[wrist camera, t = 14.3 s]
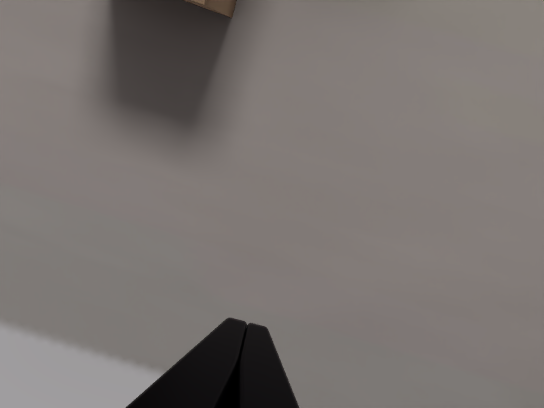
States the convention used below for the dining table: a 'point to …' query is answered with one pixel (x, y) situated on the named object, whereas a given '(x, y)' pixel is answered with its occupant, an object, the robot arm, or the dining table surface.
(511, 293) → the dining table surface
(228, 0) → the block
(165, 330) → the dining table surface
